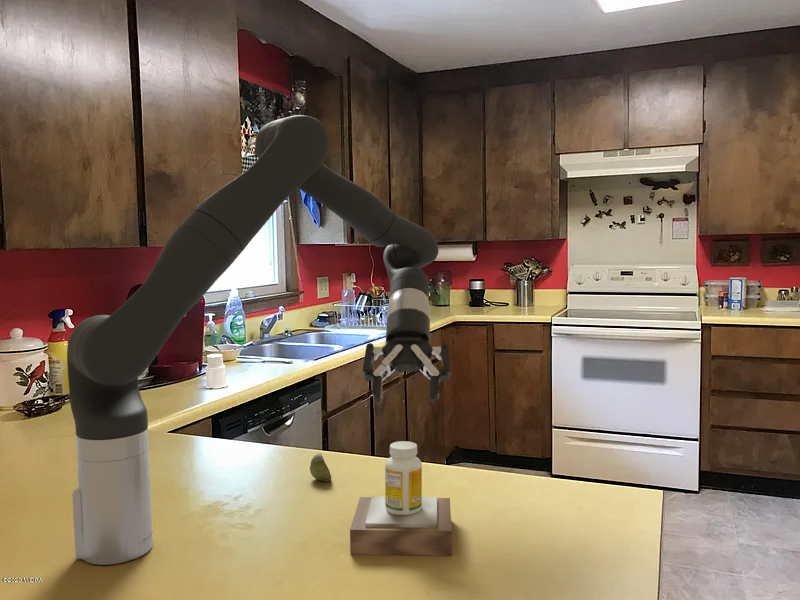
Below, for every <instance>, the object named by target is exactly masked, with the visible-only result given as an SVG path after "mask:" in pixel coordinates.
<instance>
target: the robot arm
mask: <svg viewBox="0 0 800 600" xmlns="http://www.w3.org/2000/svg"><path fill="white" fill-rule="evenodd" d="M254 148H255V154H256V157H257V160H255V162H254V163H253V164H252V165H251V166H250V167H249V168H248V169H246V171H244V172H242V173H241V174H239V176H237V177H236V178H234V179H232V180H231V181H230V182H228V183H227V184H225V185H223V186H222V187H220V188H219V189H218V190H217V191H215V192H214V193H212V194H211V195H209V196H208V197H206V199H205V200H203V201H201V203H200V204H198V206H196V208H195V209H193V210H192V212H191V213H190V214H188V216H186V218H185V219H184V220H183V221H182V222H181V223H180V224H179V226H178V227H177V228H176V229H175V230H174V231H173V233H172V234H171V235H170V237H169V238H168V239H167V241H166V243H165V244H164V246H163V247H162V250H161V252H160V253H159V255H158V257H157V259H156V262H155V264H154V266H153V267H152V269H151V272H150V273H149V275H148V277H147V278H146V279H145V281H144V282H143V283H142V285H140V287H139V288H138V289H137V290H136V291H135V292H134V293H133V294H131V296H129V298H128V299H127V300H126V301H125V302H123V304H122V305H120V306H119V308H117V309H116V310H115V311H114V312H113V313H111V314H110V315H109V314H100V315H99V314H98V315H94V316H90V317H88V318H85V319H83V320H82V321H80V323H78V324H77V325H76V326H75V328H74V329H73V330H72V332H71V334H70V336H69V338H68V342H67V347H66V350H67V351H66V363H67V364H66V365H67V376H68V377H67V378H68V391H69V403H70V409H71V413H72V417H73V420H74V425H75V426H74V427H75V443H76V459H77V462H76V463H77V479H78V483H77V484H78V487H77V488H75V489H74V490H72V494H71V495H72V497H71V498H72V500H71V501H72V513H73V514H72V515H73V516H72V518H73V535H74V537H73V538H74V555H75V560H83V561H85V562H86V563H89V564H92V565H98V566H101V565H103V566H105V565H106V566H107V565H116V564H121V563H125V562H129V561H133V560H135V559H139V558H140V557H142V556H143V555H145V554H147V553H148V552H150V550H152V547H153V545H154V542H153V541H154V539H153V533H154V531H153V530H154V529H153V516H152V515H153V514H152V513H153V512H152V510H153V509H152V492H151V491H152V489H151V470H150V469H151V468H150V466H151V465H150V464H151V463H150V449H149V448H150V445H149V418H148V417H149V416H148V409H147V408H146V405H145V403H144V401H143V398H142V396H141V391H140V388H139V377H140V376H141V375H142V374H143V375H144V372H145V371H146V370H147V369H148V368H149V366H150V365H151V364H152V362H153V361H154V360H155V358H156V357H157V355H158V354H159V353H160V351H161V349H162V348H163V346H164V345H165V344H166V342H167V341H168V339H169V338H170V336H171V335H172V334H173V332H174V331H175V329H176V328H177V326H178V325H179V324H180V323H181V321H182V320H183V319H184V317H186V315H187V314H188V313H189V312H190V310H191V309H192V308H193V307H194V306H195V305H196V304H197V303H198V302H199V301H200V299H201V298H202V297H204V296H205V294H206V293H207V292H208V290H210V288H211V287H212V286H213V285H214V284H215V283H216V282H217V281H218V279H219V278H220V277H221V276H222V275H223V274H224V273H226V271H227V270H228V269H229V268H230V267H231V266H232V264H233V263H234V262H235V260H236V259H237V258H238V257H239V256H240V255H241V253H243V252H244V250H245V249H246V247H248V245H249V243H250V242H251V241H252V240H253V239H254V238H255V236H256V235H257V234H258V233H259V232H260V231H261V230H262V229H263V227H264V226H265V224H266V223H267V222H269V220H270V219H271V217H272V216H273V215H274V214H275V213H276V211H277V210H278V209H279V207H281V205H282V204H283V203H284V202H285V200H287V198H289V197H290V196H291V195H292V194H293V193H294V191H296V190H297V189H298V190H301V191H302V192H303V193H305V194H306V195H308V196H310V197H311V198H312V199H314V200H315V201H316V202H318V203H319V204H322V205H323V206H324V207H326V208H327V209H328V210H330V211H331V212H332V213H333V214H335V215H336V216H338V217H339V218H340V219H342V220H343V221H344V222H345V223H346V224H347V225H348V226H350V227H351V228H352V229H354V231H355V232H357V233H358V234H360V235H361V236H362V237H363V238H364V239H365V240H366V241H368V242H369V244H372V245H373V246H374V247H377V248H384V247H385V249H384V251H383V254H382V255H383V258H382V259H383V263H384V266H385V269H386V272H387V276H388V280H389V284H390V285H389V301H388V305H387V311H386V313H387V314H386V328H385V331H386V332H385V343H384V344H383V346H374V344H373V343H371V342H370V343H367V344H366V345H365V351H364V353H365V354H364V359H363V365H362V374H363V379H364V381H366V382H369V381H371V382H372V390H371V391H372V392H371V393H372V397H373V400H376V403H378V404H379V403H381V404H382V403H383V402H382V400H383V386H384V385H383V384H384V383H383V381H384V380H386V379H387V378H388V377H390V376H391V375H392V374H393V373H394V372H395V371H397V372H398V373H399V372H400V373H403V372H411V373H417V371H420V372H421V373H422V374H423V376H425V377H426V378H427V379H429V380H430V381H429V382H430V385H429V386H430V388H429V389H430V390H429V392H430V393H429V397H430V400H429V401H430V404H435V403H436V400H438V401H439V398H440V384H441V382H443V381H444V382H448V381H450V380H451V362H450V352H449V351H450V350H449V344H448V343H446V342H442V343H441V344H440V346H432V344H431V335H430V334H431V333H430V332H431V309H430V302H429V298H430V297H429V295H430V294H429V292H430V290H429V289H430V287H429V286H430V284H429V279H428V276H427V274H426V272H425V271H423V270H422V268H424V267H426V266H428V265H430V264H432V263H433V262H434V261H435V260H436V259H437V257H438V255H439V246H438V245H439V244H438V242H437V240H436V238H435V236H433V234H432V233H431V232H430V231H429V230H427V229H426V228H425V227H423V226H421V225H419V224H417V223H415V222H414V221H411V220H409V219H406V218H404V217H402V216H400V215H398V214H396V213H395V212H394V211H393V210H392V209H391V208H390V207H389V206H387V205H386V204H385V203H384V202H383V201H382V200H381V199H380V198H379V197H378V196H377V195H375V194H374V193H372V192H371V191H369V190H368V189H366V188H364V187H362V186H361V185H359V184H357V183H355V182H353V181H351V180H350V179H348V178H346V177H344V176H342V175H340V174H338V173H337V172H336V171H334V170H333V169H331V168H330V167H328V166H327V165H326V164H325V163H324V162H325V160H326V158H327V155H328V152H329V148H330V141H329V134H328V132H327V129H326V127H325V125H324V124H323V123H322V122H321V121H320V120H318V119H317V118H315V117H312V116H309V115H303V114H302V115H301V114H299V115H297V114H295V115H291V116H287V117H283V118H279V119H275V120H272V121H270V122H268V123H266V124H265V125H263V126H262V127H261V128H260V129H259V130H258V132H257V134H256V137H255V141H254ZM381 355H382V357H383V358H384V359H383V360H382V361H381V364H379V366H378V367H377V368H375V369H374V363H375V362H374V361H377V360H378V358H379V356H381ZM433 355H434V356H436V359H437V360H439V361H441V367H442V368H441V369H437V368H436V367H435V365H433V363H432V361H431V358H432V356H433Z"/></svg>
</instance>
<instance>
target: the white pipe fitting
mask: <svg viewBox="0 0 800 600" xmlns="http://www.w3.org/2000/svg"><path fill="white" fill-rule="evenodd" d="M206 360H207V361H206V363H207V366H205V380H206V381H205V383H206V385H205V386H207V387H209V388H215V387H223V386H225V385H226V384H227V379H226V375H227V374H226V365H225V364H224V361H223V360H224V358H223V354H221V353H212V354H211V353H210V354H207V355H206Z"/></svg>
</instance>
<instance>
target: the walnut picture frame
mask: <svg viewBox="0 0 800 600" xmlns="http://www.w3.org/2000/svg"><path fill="white" fill-rule="evenodd" d="M452 536H453V533H452V513H451V498H450V497H437V496H422V507H421V510H420V511H419V512H417V513H414V514H412V515H394V514H391V513H389V512H388V511H387V510H386V507H385V496H360V497H359V499H358V503H357V506H356V509H355V513H354V516H353V519H352V523H351V525H350V529H349V547H350V548H349V552H350V555H375V556H377V555H378V556H380V555H381V556H383V555H384V556H436V557H437V556H440V557H442V556H443V557H444V556H446V557H450V556H453V552H452V551H453V550H452V548H453V543H452V542H453V541H452V538H453V537H452Z"/></svg>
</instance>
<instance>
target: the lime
mask: <svg viewBox="0 0 800 600" xmlns="http://www.w3.org/2000/svg"><path fill="white" fill-rule="evenodd" d="M323 457H324V456H323V455H322V453H321V452H320V453H317V454H315V455H314V456H313V457H312V459H311V460H310V466H309V472H310V474H311V477H313V478H314V479H316V480H318V481H321V482H329V481H332V475H331V472H330V469H329V467H328V465H327V463H326V461H325V459H324V458H323Z"/></svg>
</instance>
